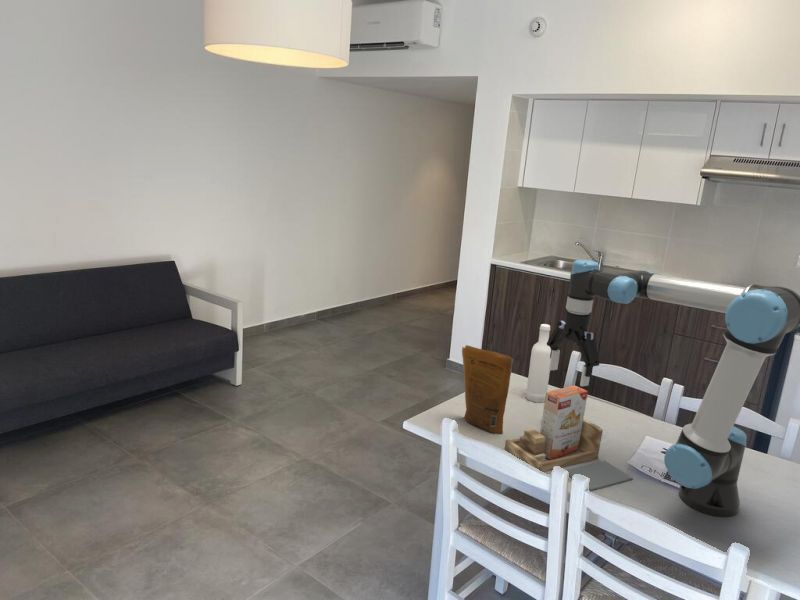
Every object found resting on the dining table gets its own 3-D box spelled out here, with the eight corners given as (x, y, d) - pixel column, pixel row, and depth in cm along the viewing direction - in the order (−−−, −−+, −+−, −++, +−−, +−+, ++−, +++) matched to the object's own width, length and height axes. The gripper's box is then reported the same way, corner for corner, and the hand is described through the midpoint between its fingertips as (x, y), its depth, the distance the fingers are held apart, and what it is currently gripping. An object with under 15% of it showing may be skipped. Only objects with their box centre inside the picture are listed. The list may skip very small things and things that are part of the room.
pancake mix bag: (498, 439, 196) (507, 359, 189) (453, 419, 208) (461, 343, 202) (510, 433, 200) (519, 355, 194) (465, 414, 213) (473, 339, 207)
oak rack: (597, 458, 187) (602, 429, 185) (537, 472, 176) (542, 442, 174) (562, 436, 201) (566, 409, 199) (504, 448, 190) (508, 419, 187)
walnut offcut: (544, 453, 183) (545, 444, 182) (534, 455, 181) (535, 446, 180) (528, 443, 189) (529, 434, 188) (518, 445, 186) (519, 436, 186)
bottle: (547, 397, 234) (558, 324, 227) (544, 404, 227) (554, 329, 220) (527, 393, 237) (537, 320, 230) (523, 399, 230) (532, 325, 223)
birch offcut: (544, 463, 182) (545, 454, 182) (534, 465, 181) (535, 457, 180) (527, 451, 189) (529, 443, 189) (517, 453, 187) (519, 445, 187)
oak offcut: (544, 444, 182) (545, 437, 181) (534, 446, 180) (536, 438, 180) (532, 436, 187) (533, 428, 186) (523, 437, 186) (524, 429, 185)
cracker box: (551, 461, 184) (560, 398, 179) (536, 453, 188) (544, 391, 183) (579, 450, 192) (589, 390, 187) (564, 443, 196) (573, 383, 192)
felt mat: (632, 479, 176) (632, 478, 176) (590, 491, 168) (590, 489, 168) (604, 462, 185) (604, 460, 185) (563, 472, 178) (563, 470, 177)
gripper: (619, 322, 170) (607, 391, 175) (559, 300, 191) (550, 362, 197) (600, 324, 167) (588, 394, 172) (541, 301, 188) (532, 364, 193)
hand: (568, 377), depth 184 cm, fingers open, 13 cm apart
